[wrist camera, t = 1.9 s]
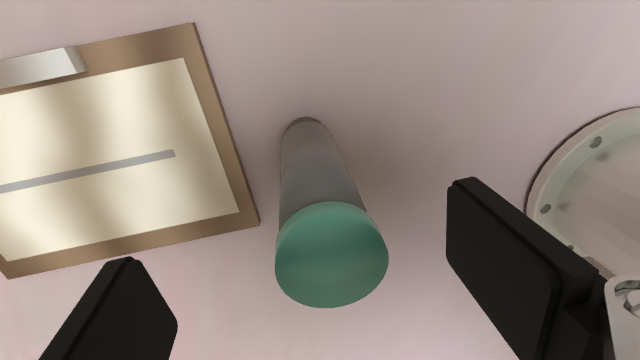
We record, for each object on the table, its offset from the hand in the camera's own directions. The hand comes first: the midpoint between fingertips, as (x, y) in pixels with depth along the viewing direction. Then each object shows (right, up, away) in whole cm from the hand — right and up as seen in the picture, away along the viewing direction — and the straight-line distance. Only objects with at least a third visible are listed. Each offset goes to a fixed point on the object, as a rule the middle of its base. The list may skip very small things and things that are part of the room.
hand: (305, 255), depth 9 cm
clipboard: (-14, +3, +10) cm, 17 cm away
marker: (0, +5, +10) cm, 12 cm away
